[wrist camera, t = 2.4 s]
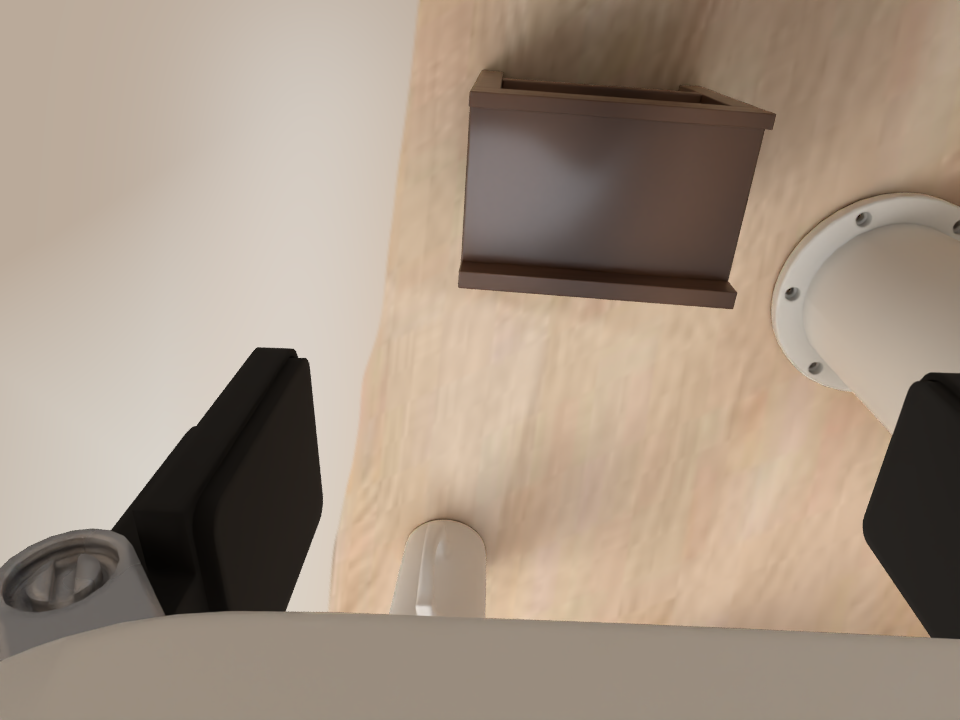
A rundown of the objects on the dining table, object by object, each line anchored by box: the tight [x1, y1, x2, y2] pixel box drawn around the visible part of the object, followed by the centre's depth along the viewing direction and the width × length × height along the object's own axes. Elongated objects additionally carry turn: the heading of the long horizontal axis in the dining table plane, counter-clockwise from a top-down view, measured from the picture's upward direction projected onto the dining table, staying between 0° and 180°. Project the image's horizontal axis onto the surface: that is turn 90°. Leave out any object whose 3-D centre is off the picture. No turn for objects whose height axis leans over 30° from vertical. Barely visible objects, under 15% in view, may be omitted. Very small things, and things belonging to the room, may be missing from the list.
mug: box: [389, 520, 486, 618], centre depth 47 cm, size 10×7×12 cm, turn 2°
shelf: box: [458, 70, 776, 309], centre depth 33 cm, size 12×8×12 cm, turn 86°
